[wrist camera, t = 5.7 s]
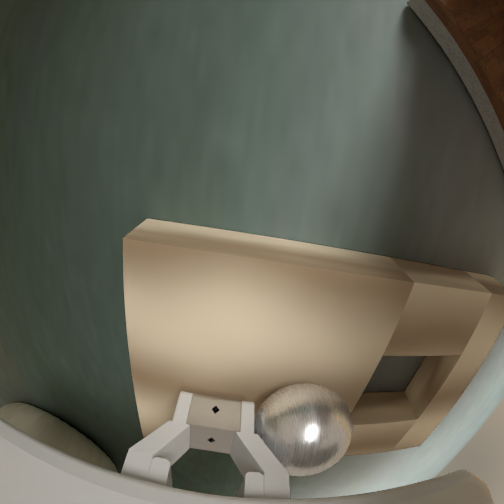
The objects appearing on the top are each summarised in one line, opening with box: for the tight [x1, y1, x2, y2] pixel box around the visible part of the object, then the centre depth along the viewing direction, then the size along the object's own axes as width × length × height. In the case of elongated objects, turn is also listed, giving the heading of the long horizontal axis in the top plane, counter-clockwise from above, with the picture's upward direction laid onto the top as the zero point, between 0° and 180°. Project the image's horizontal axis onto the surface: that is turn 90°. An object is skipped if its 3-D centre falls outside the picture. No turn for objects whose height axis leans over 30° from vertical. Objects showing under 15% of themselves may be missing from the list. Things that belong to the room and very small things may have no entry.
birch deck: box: [123, 219, 504, 456], centre depth 13 cm, size 12×18×2 cm, turn 81°
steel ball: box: [254, 383, 353, 476], centre depth 10 cm, size 4×4×4 cm
